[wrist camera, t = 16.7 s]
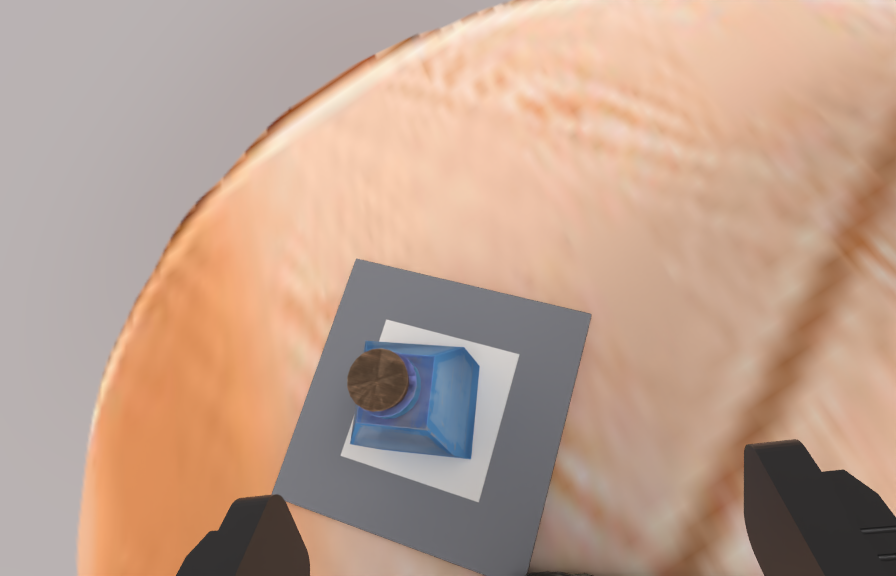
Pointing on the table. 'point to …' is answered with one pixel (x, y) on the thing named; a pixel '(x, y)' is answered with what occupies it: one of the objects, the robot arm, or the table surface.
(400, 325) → the mat
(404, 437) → the perfume bottle
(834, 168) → the table surface
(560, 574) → the network switch
